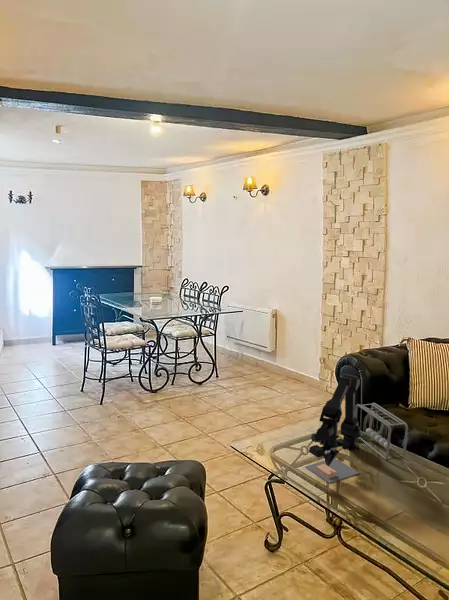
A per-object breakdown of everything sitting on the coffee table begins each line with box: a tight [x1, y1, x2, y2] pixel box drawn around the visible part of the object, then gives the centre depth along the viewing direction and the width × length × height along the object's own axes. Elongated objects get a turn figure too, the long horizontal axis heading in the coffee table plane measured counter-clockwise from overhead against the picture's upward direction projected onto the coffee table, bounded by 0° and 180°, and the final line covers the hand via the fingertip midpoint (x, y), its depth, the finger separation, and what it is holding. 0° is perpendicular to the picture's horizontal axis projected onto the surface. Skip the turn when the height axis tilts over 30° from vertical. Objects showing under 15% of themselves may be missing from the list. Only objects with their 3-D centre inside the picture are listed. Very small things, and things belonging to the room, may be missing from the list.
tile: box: [316, 464, 337, 478], centre depth 229 cm, size 2×8×5 cm
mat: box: [304, 457, 360, 484], centre depth 232 cm, size 18×16×1 cm
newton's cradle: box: [355, 402, 409, 461], centre depth 257 cm, size 30×10×18 cm, turn 17°
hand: (327, 465), depth 229 cm, fingers closed
